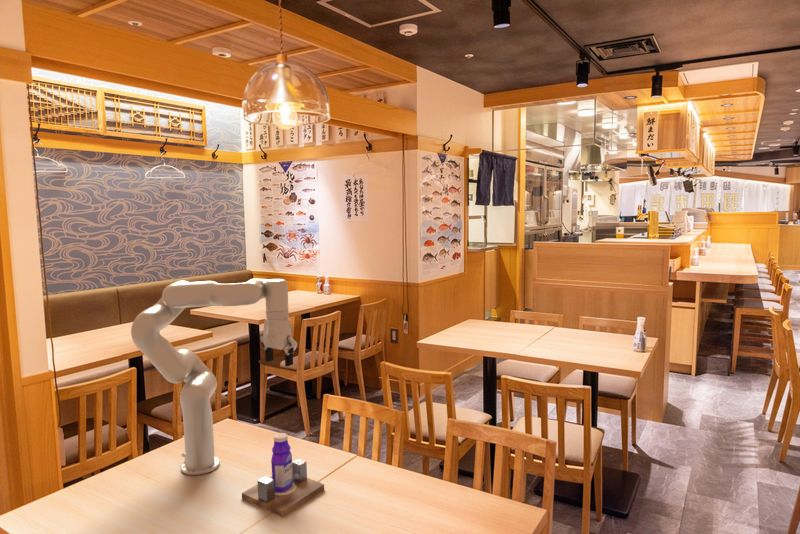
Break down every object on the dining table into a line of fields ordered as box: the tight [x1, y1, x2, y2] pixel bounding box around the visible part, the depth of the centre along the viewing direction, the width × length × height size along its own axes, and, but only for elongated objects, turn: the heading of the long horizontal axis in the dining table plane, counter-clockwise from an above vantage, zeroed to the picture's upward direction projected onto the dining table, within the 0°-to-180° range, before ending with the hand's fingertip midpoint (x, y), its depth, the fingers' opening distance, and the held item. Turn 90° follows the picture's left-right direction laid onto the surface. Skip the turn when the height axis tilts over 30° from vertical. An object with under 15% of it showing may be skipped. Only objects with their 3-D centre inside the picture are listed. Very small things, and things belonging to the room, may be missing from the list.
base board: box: [241, 475, 325, 518], centre depth 170 cm, size 18×18×2 cm
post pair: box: [256, 458, 308, 503], centre depth 169 cm, size 4×17×6 cm, turn 146°
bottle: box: [270, 432, 293, 492], centre depth 169 cm, size 7×6×17 cm
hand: (279, 363), depth 187 cm, fingers open, 9 cm apart
